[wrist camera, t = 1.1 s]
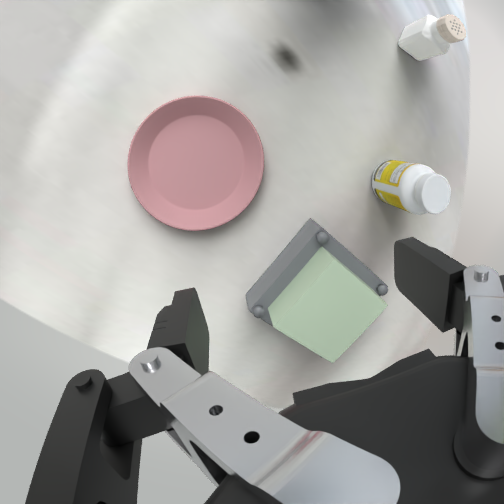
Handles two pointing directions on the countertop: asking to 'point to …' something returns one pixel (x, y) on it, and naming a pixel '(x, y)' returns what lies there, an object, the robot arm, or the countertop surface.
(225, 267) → the countertop surface
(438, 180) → the supplement bottle
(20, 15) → the countertop surface
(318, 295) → the sponge in grey tray
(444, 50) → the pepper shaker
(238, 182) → the plate
